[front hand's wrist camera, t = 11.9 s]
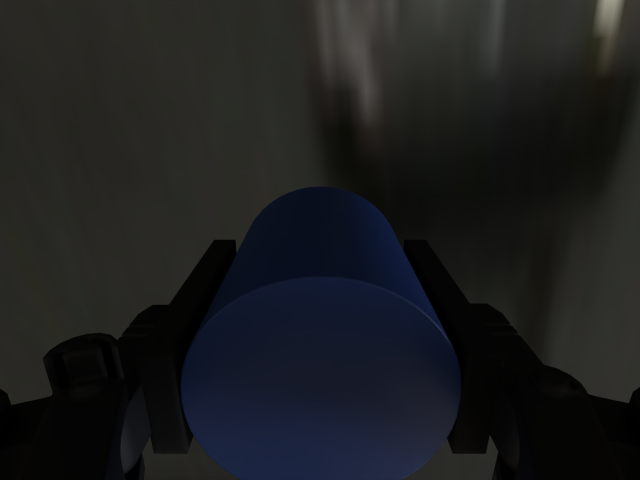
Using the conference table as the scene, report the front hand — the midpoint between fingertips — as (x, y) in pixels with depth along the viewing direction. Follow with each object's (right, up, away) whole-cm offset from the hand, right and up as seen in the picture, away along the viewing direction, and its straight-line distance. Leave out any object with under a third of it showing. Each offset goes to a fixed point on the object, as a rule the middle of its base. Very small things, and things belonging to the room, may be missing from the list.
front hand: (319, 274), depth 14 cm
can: (0, 0, +1) cm, 1 cm away
